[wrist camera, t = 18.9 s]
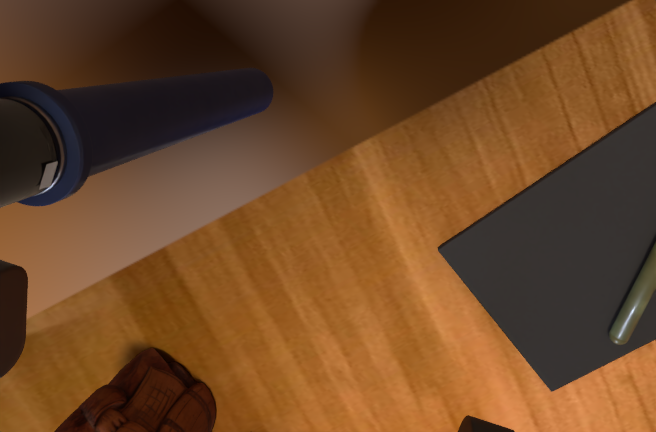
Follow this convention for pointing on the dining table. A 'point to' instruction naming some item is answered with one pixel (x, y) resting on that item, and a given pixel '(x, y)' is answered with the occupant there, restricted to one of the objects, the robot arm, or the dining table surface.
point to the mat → (569, 255)
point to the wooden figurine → (146, 401)
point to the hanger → (635, 301)
